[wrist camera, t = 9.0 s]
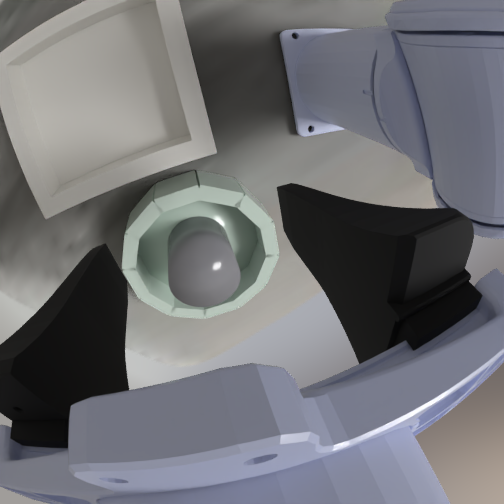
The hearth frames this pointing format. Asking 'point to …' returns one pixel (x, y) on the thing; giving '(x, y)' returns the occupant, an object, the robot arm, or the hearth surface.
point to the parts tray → (102, 99)
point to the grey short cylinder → (201, 262)
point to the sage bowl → (191, 205)
